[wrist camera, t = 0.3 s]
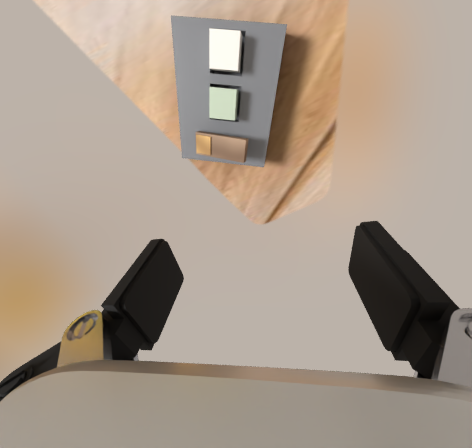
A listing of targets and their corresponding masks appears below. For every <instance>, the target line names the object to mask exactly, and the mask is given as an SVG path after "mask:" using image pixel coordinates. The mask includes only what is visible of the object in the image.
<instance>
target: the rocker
mask: <svg viewBox="0 0 472 448" xmlns="http://www.w3.org/2000/svg"><path fill="white" fill-rule="evenodd" d="M195 134H196V154H199V155H205V156H210V157H215V158H220V159H225V160H231V161H236V162H241V163H244V162H246V158H247V148H248V139H247V138H241V137H235V136H228V135H222V134H216V133H209V132H203V131H197V132H195Z"/></svg>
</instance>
